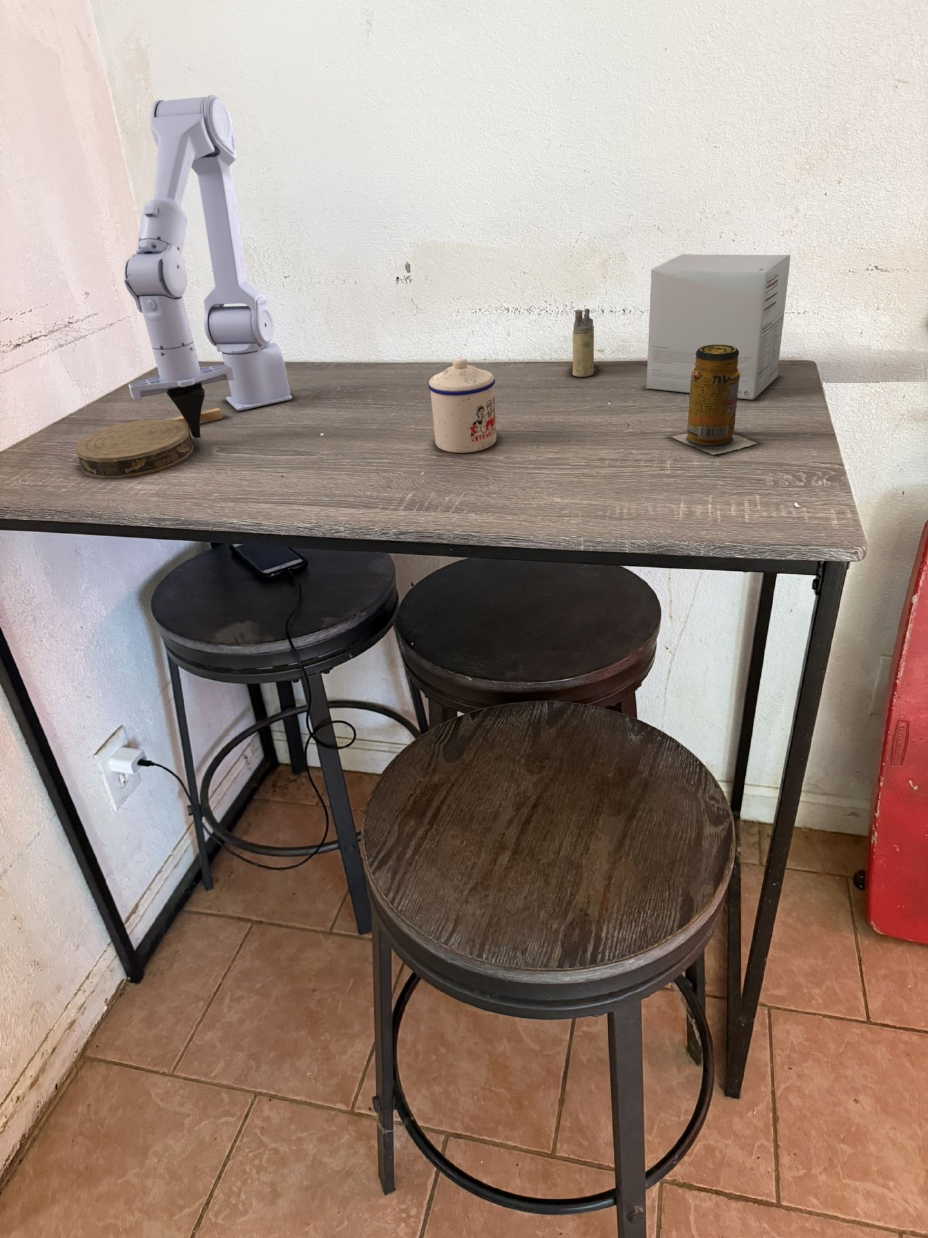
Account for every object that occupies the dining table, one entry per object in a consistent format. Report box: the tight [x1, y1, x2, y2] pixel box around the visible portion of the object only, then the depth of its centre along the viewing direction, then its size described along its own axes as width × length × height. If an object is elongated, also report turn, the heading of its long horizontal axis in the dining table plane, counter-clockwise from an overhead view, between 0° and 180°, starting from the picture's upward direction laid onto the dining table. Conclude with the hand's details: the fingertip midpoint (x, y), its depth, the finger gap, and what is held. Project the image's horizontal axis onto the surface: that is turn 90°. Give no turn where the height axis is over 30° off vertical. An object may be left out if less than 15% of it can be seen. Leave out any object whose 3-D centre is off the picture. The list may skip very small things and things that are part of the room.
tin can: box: [75, 418, 194, 479], centre depth 123 cm, size 16×16×3 cm
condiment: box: [671, 344, 757, 455], centre depth 109 cm, size 7×8×12 cm
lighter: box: [572, 307, 597, 378], centre depth 141 cm, size 7×4×10 cm, turn 171°
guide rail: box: [169, 407, 223, 426], centre depth 133 cm, size 18×1×2 cm, turn 118°
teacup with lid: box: [427, 357, 497, 454], centre depth 117 cm, size 12×9×12 cm
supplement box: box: [645, 253, 791, 400], centre depth 128 cm, size 17×13×18 cm
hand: (196, 436), depth 126 cm, fingers closed
